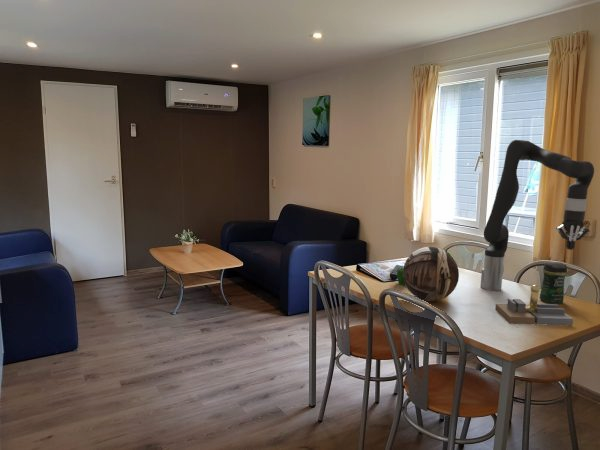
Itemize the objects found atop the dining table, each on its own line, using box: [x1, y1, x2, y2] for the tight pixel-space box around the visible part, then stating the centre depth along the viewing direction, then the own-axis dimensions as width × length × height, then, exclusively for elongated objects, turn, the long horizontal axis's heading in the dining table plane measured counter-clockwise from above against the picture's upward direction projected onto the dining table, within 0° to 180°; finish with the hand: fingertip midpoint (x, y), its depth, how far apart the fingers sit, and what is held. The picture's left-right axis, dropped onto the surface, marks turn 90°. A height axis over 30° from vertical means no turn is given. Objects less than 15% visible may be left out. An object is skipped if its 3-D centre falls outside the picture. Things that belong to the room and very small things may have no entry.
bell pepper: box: [396, 267, 406, 286], centre depth 242 cm, size 8×8×10 cm
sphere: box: [402, 246, 460, 302], centre depth 216 cm, size 25×25×25 cm
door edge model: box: [494, 298, 574, 326], centre depth 197 cm, size 25×16×7 cm, turn 87°
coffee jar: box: [539, 262, 568, 304], centre depth 217 cm, size 10×8×19 cm
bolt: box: [516, 284, 541, 312], centre depth 196 cm, size 9×3×11 cm, turn 87°
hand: (569, 249), depth 199 cm, fingers closed
